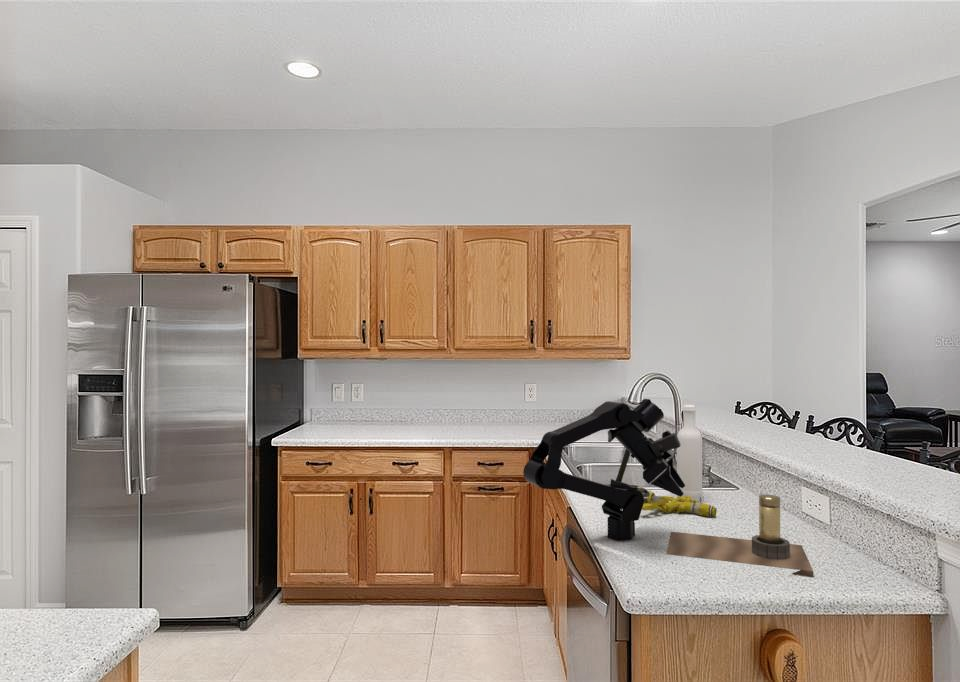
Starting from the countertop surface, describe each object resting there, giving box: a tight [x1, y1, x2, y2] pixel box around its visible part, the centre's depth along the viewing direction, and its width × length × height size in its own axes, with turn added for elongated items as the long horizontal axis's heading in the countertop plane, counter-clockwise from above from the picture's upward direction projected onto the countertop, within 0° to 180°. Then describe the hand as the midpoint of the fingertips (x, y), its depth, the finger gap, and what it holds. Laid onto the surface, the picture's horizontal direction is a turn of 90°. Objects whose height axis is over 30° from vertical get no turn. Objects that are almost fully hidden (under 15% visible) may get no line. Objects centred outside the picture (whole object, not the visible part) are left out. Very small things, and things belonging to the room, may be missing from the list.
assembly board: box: [665, 531, 814, 578], centre depth 143 cm, size 30×18×4 cm, turn 69°
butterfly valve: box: [615, 448, 653, 504], centre depth 187 cm, size 9×20×17 cm
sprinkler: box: [641, 491, 717, 518], centre depth 178 cm, size 22×6×20 cm
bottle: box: [676, 404, 704, 503], centre depth 195 cm, size 8×8×30 cm
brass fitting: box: [758, 494, 781, 545], centre depth 140 cm, size 4×4×13 cm
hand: (683, 491), depth 149 cm, fingers open, 9 cm apart
